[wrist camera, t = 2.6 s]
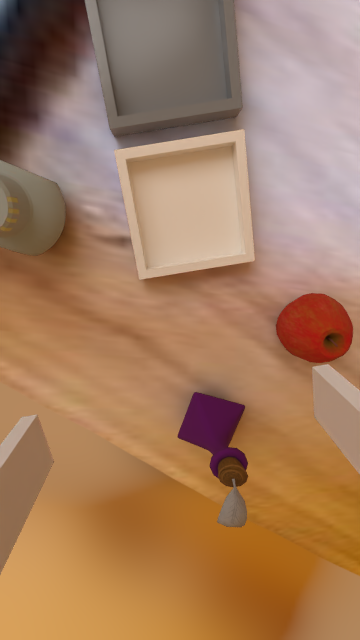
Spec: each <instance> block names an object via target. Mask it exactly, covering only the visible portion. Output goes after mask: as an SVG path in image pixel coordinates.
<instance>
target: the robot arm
mask: <svg viewBox="0 0 360 640" xmlns="http://www.w3.org/2000/svg"><path fill="white" fill-rule="evenodd" d="M312 376H313V398H314V417H315V418H316V420H317V421H318V422H319V423H320V425H321V426H322V427H323V429H324V430H325V431H326V432H327V434H328V435H329V436H330V437H331V439H332V440H333V441H334V442H335V444H336V445H337V446H338V448H339V449H340V450H341V451H342V453H343V454H344V455H345V456H346V458H347V459H348V460H349V461H350V463H351V464H352V465H353V467H354V468H355V469H356V470H357V472H358V473H359V474H360V390H358V389H357V388H356V387H355V386H354V385H352V384H351V383H350V382H349V381H348V380H346V379H345V378H344V377H343V376H342V375H340V374H339V373H338V372H337V371H336V370H335V369H333V368H332V367H331V366H330V365H329V364H326V365H321V366H315V367H312ZM53 463H54V461H53V458H52V455H51V452H50V449H49V446H48V444H47V440H46V438H45V435H44V432H43V429H42V426H41V423H40V420H39V418H38V415H31V416H26V417H21V419H20V420H19V421H18V423H17V424H16V425H15V426H14V428H13V429H12V430H11V432H10V433H9V434H8V436H7V437H6V438H5V439H4V441H3V442H2V443H1V445H0V574H1V572H2V570H3V568H4V566H5V564H6V561H7V559H8V557H9V555H10V553H11V551H12V549H13V547H14V545H15V542H16V540H17V538H18V536H19V534H20V532H21V530H22V528H23V526H24V524H25V522H26V519H27V517H28V515H29V513H30V511H31V509H32V507H33V505H34V502H35V501H36V498H37V496H38V494H39V492H40V490H41V488H42V486H43V484H44V482H45V479H46V477H47V475H48V473H49V471H50V469H51V467H52V465H53Z"/></svg>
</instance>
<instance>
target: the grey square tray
mask: <svg viewBox="0 0 360 640" xmlns="http://www.w3.org/2000/svg"><path fill="white" fill-rule="evenodd" d="M85 4H86V9H87V14H88V19H89V24H90V29H91V35H92V40H93V45H94V50H95V55H96V60H97V65H98V70H99V76H100V81H101V86H102V91H103V96H104V101H105V106H106V111H107V117H108V122H109V127H110V130H111V132H112V134H113V135H114V137H115V136H122V135H128V134H134V133H140V132H146V131H153V130H159V129H165V128H171V127H178V126H184V125H190V124H196V123H202V122H209V121H215V120H221V119H227V118H233V117H237V115H238V114H239V112H240V111H241V109H242V96H241V84H240V72H239V59H238V47H237V35H236V23H235V10H234V0H85Z"/></svg>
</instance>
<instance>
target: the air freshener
mask: <svg viewBox="0 0 360 640" xmlns="http://www.w3.org/2000/svg"><path fill="white" fill-rule="evenodd" d="M65 217H66V211H65V203H64V198H63V196H62V193H61V190H60V188H59V186H58V185H57V183H55V182H52V181H50V180H48V179H45V178H43V177H40V176H38V175H35V174H33V173H30V172H28V171H26V170H23V169H21V168H18V167H16V166H13V165H11V164H8V163H6V162H4V161H1V160H0V247H2V248H5V249H8V250H12V251H15V252H19V253H23V254H27V255H32V256H37V255H40V254H42V253H44V252H45V251H47V250H48V249H50V248H51V247H52V246H53V245H54V244H55V243H56V241H57V240H58V239H59V237H60V235H61V233H62V231H63V228H64V224H65Z"/></svg>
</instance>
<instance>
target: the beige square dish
mask: <svg viewBox="0 0 360 640" xmlns="http://www.w3.org/2000/svg"><path fill="white" fill-rule="evenodd" d="M114 152H115V157H116V163H117V168H118V173H119V178H120V183H121V188H122V193H123V198H124V204H125V209H126V214H127V219H128V224H129V229H130V234H131V239H132V245H133V250H134V255H135V260H136V265H137V270H138V275H139V280H141V279H147V278H153V277H159V276H165V275H171V274H177V273H184V272H190V271H196V270H202V269H208V268H214V267H220V266H227V265H233V264H239V263H245V262H251V261H255V256H254V244H253V231H252V219H251V207H250V195H249V182H248V170H247V158H246V145H245V133H244V129H242V130H236V131H230V132H224V133H217V134H211V135H205V136H199V137H193V138H186V139H180V140H174V141H168V142H161V143H155V144H149V145H143V146H137V147H130V148H124V149H118V150H114Z"/></svg>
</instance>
